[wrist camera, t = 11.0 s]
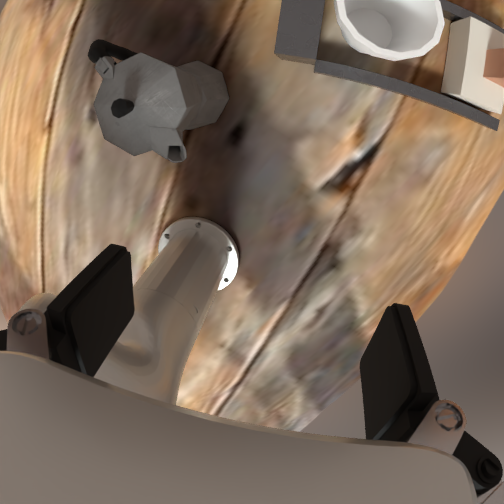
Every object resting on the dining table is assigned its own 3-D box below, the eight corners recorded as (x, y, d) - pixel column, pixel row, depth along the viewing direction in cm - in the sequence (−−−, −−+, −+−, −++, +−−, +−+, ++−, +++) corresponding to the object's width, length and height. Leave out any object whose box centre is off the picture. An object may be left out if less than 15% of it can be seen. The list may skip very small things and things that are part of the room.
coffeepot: (255, 112, 37) (212, 134, 22) (198, 154, 41) (130, 204, 26) (182, 24, 32) (100, -1, 17) (132, 71, 36) (37, 80, 21)
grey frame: (486, 127, 31) (517, 139, 24) (280, 67, 34) (272, 62, 27) (500, 35, 24) (533, 31, 17) (295, -32, 26) (290, -56, 20)
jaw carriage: (481, 109, 30) (565, 136, 15) (440, 92, 31) (518, 106, 16) (491, 42, 25) (576, 38, 10) (450, 23, 26) (527, 0, 10)
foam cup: (313, 37, 31) (314, 14, 20) (351, -16, 26) (367, -56, 15) (380, 81, 32) (412, 80, 21) (417, 28, 27) (460, 9, 16)
